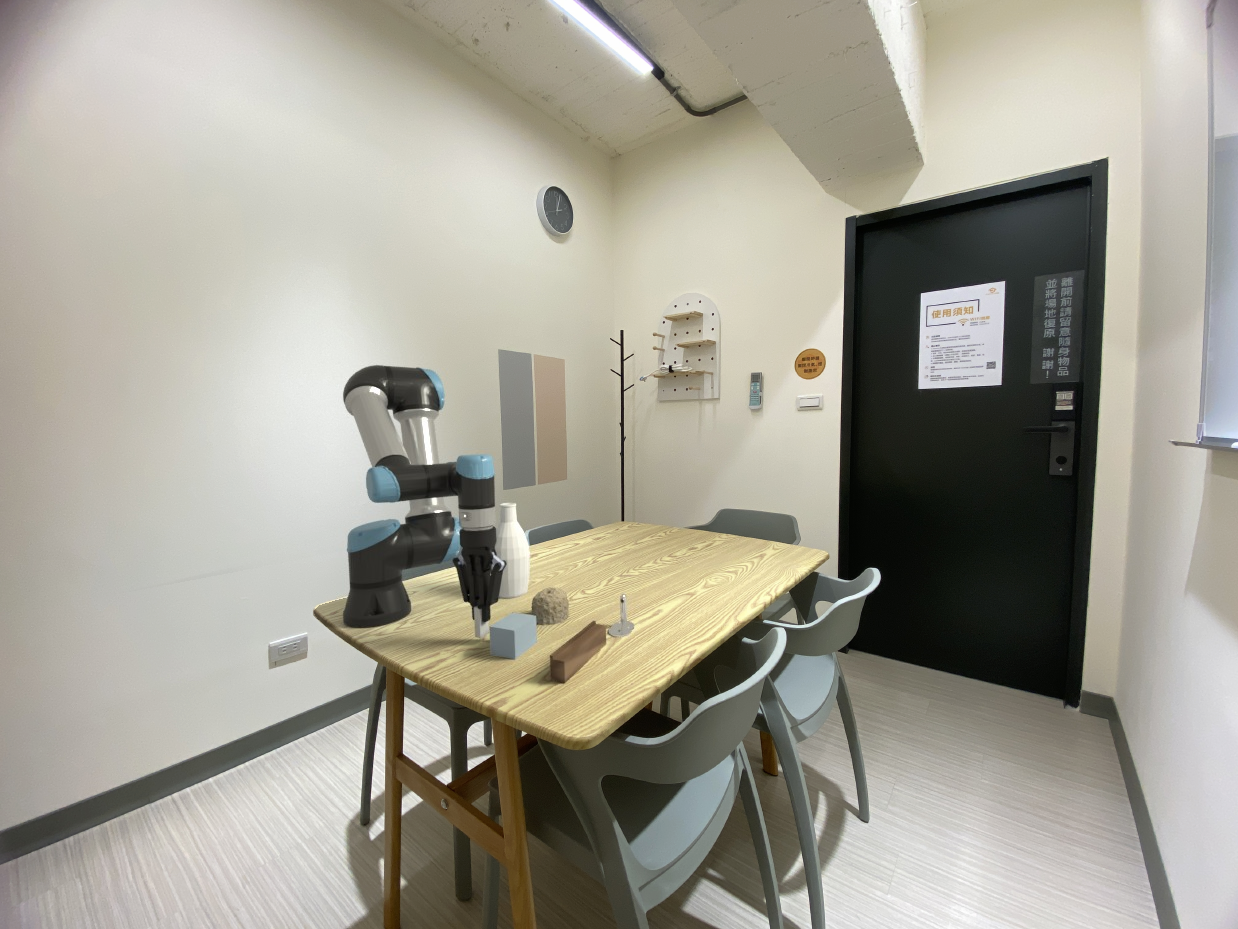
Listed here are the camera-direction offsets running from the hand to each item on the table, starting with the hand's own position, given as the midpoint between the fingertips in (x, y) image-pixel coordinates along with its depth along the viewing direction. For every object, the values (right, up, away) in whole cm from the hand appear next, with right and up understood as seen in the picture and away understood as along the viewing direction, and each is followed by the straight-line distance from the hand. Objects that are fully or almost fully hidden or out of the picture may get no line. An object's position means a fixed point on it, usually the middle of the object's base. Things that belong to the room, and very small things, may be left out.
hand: (482, 635), depth 101 cm
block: (+8, -2, -3) cm, 9 cm away
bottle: (-1, 0, +31) cm, 31 cm away
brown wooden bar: (+22, -2, -9) cm, 24 cm away
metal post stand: (+30, -1, +5) cm, 31 cm away
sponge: (+13, -1, +13) cm, 18 cm away
